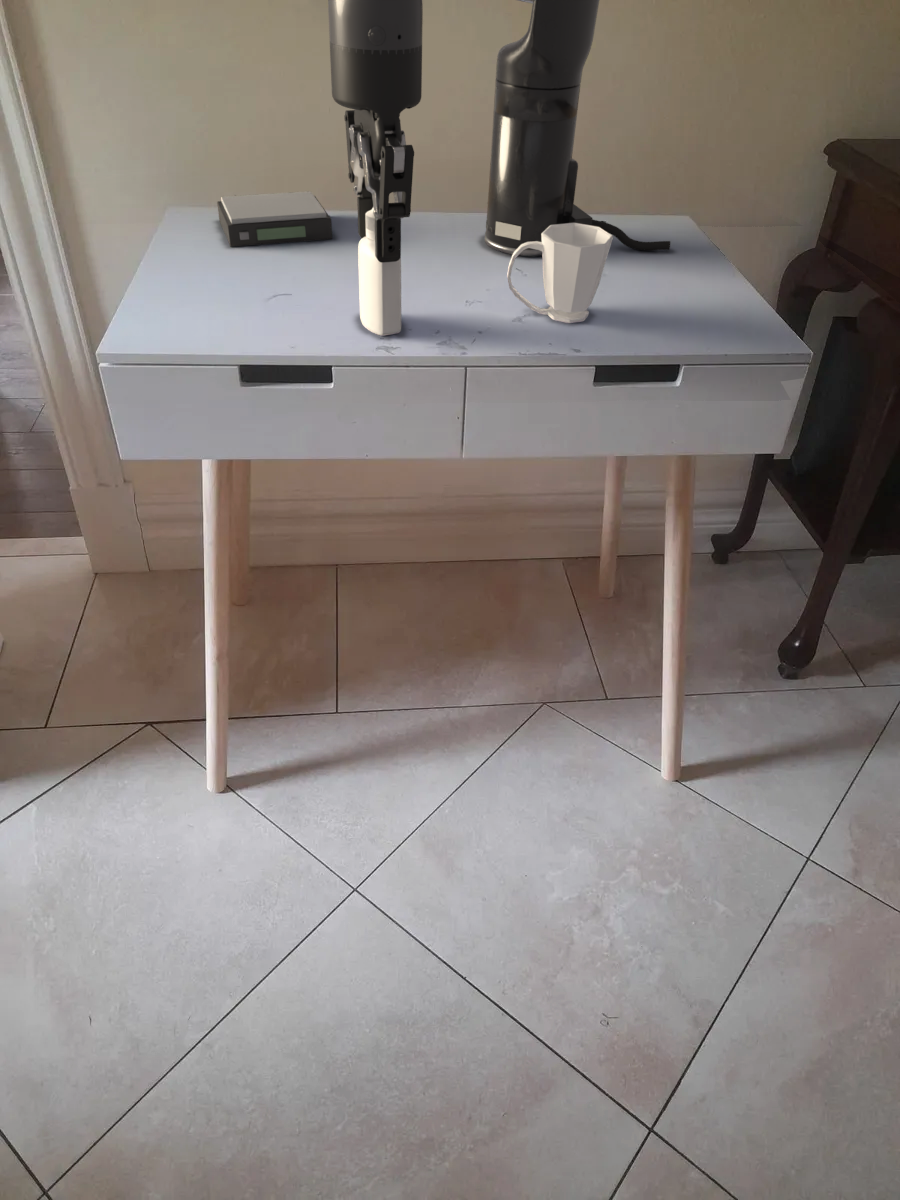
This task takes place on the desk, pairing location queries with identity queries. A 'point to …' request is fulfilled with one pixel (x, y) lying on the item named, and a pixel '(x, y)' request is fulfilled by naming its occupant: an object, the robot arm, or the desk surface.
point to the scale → (273, 218)
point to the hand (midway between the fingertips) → (378, 248)
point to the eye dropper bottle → (378, 286)
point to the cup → (568, 269)
